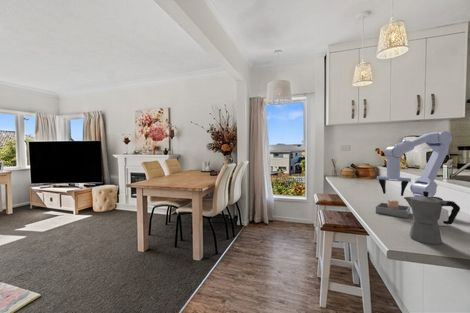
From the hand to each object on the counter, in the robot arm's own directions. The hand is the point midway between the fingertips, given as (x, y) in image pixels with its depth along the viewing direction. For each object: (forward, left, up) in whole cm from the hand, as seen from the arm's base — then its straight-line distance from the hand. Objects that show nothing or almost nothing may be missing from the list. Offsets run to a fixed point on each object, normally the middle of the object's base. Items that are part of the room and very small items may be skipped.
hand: (393, 194), depth 113 cm
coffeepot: (-16, +34, -10) cm, 39 cm away
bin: (0, 0, -10) cm, 10 cm away
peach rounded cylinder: (0, 0, -9) cm, 9 cm away
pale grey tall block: (-16, +7, -10) cm, 20 cm away
